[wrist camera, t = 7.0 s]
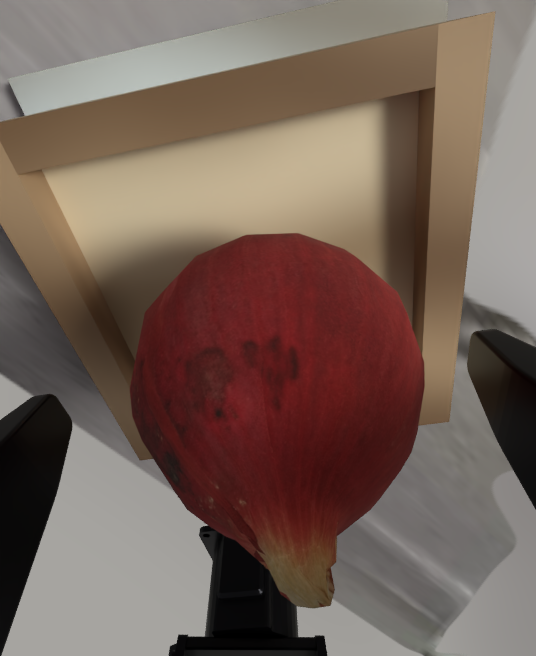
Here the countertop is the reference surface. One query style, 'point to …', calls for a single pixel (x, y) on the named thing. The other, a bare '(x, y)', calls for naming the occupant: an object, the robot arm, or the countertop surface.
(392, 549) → the countertop surface
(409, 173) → the tan square tray
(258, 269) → the onion
